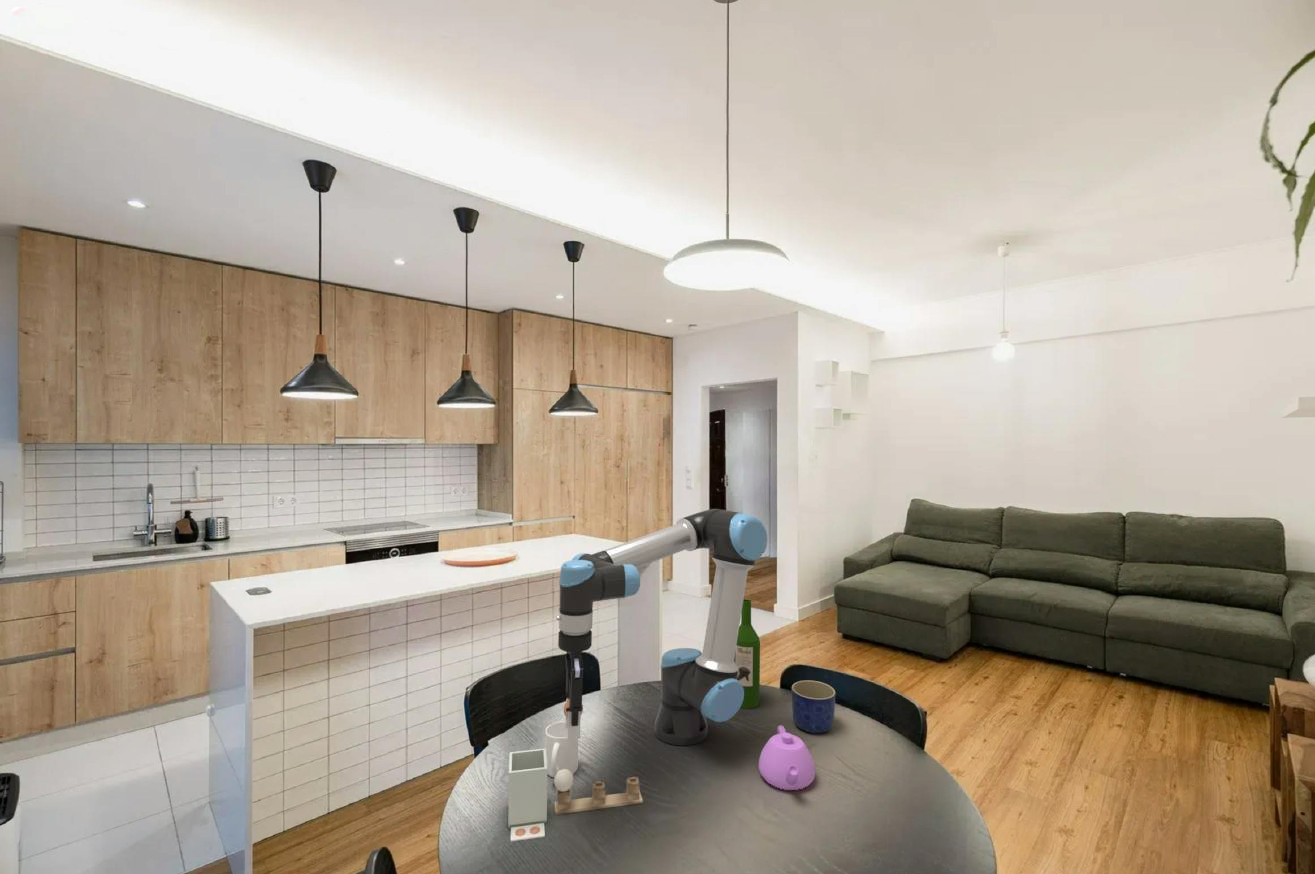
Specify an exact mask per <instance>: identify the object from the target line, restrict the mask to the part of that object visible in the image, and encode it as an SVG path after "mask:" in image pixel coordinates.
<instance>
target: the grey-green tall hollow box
mask: <svg viewBox="0 0 1315 874" xmlns="http://www.w3.org/2000/svg"><path fill="white" fill-rule="evenodd" d="M508 755H509V757H508V758H509V759H508V796H507V797H508V798H507V799H508V803H507V804H508V806H507V807H508V811H507V812H508V813H507V814H508V815H507V818H508V822H507V824H508V826H507V828H508V829H511V828H512V827H519V826H526V825H533V824H541V823H544V824H546V823H548V822H547V821H548V774H547V757H546V748H536V749H530V750H529V749H528V750H527V749H526V750H519V751H512V752H509V754H508Z"/></svg>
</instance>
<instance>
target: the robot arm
mask: <svg viewBox="0 0 1315 874" xmlns="http://www.w3.org/2000/svg"><path fill="white" fill-rule="evenodd" d="M767 546H768V533H767V529H766V527H765V525H763V522H762V521H761V520H760V519H759V518H758V517H756V516H754V515H752V514H748V513H745V512H738V511H731V510H726V509H721V508H712V509H707V510H703V511H700V512H699V511H698V512H696V513H693V514H690V515H688V516H685V517H682V518H679V519H678V520H676V523H675V524H674V525H670V526H668V527H664V528H662V529H660V530H656V531H654V532H651V533H648V534H645V535H643V536H640V537H637V538H634V539H631V540H629V541H627V542H623V543H621V544H618V545H615V546H612V547H609V548H607V549H605V550H601V551H598V552H596V553H591V554H590V553H585V552H584V553H582V552H581V553H577V554H576V555H575V556H574V557H572V559H571V560H568V561H565V562H563V563H562V564H561V567H560V574H559V582H558V584H559V613H558V614H559V615H557V616H556V621H558V629H559V632H558V643H557V646H558V649H559V650H561V651H563V652H566V653H565V655H564V660H565V673H566V675H565V677H566V678H565V688H564V689H565V692H566V694H565V696H566V700H565V701H566V702H567V701H568V700H569V708H566V712H568V718H567V717H566V716H565V721H566V728H568V740H569V739H578V740H579V739H581V719H582V718H581V716H582V714H581V711H582V705H583V683H584V681H583V678H584V671H585V669H584V665H585V657H584V653H583V652H584V651H588V650H590V648H591V647H592V644H593V643H592V642H593V641H592V640H593V639H592V638H593V632H592V629H593V617H594V616H593V614H594V611H593V608H594V607H593V606H594V602H602V601H609V600H615V599H622V598H623V599H625V598H628V597H632V596H634V595H636V594H637V593H638V592H639V590H640V587H641V575H640V572H639V570H638V569H640V568H641V567H644V566H647V565H649V564H652V563H655V562H657V561H659V560H663V559H665V558H667V557H670V556H672V555H674V554H678V553H681V552H683V551H685V550H686V551H687V552H693V551H696V550H699V549H709V550H712V557H711V559H712V561H713V562H714V564H715V566H716V567H715V573H714V579H713V584H712V592H711V597H710V602H709V610H708V611H709V612H708V617H707V623H706V629H705V635H704V642H703V646H702V647H703V648H702V651H701V650H699V649H697V648H694V647H693V648H692V647H680V648H672V649H670V650H668V651H666V652H664V653H663V654H662V656H661V663H660V676H661V677H660V706H659V709H658V712H657V714H656V718H655V720H654V734H655V736H656V737H657V738H658V739H659V740H661V741H662V742H664V743H666V744H670V745H674V746H690V745H691V746H692V745H695V744H698V743H701V742H702V741H704V740H705V739H706V738H707V736H708V722H707V719H709V720H712V721H713V722H715V723H716V722H717V723H723V722H726V721H728V720H730V719H732V718H733V717H734V716H735V714H737V713H738V712H739V710H740V709H741V708H740V707H741V705H742V702H743V699H744V689H743V687H742V684H741V683H740V682H739V681H738V680H737V676H738V666H737V665H736V663H735V662H734V657H735V651H736V644H737V638H738V631H739V626H740V625H741V612H742V606H743V599H744V597H745V592H746V586H747V585H746V584H747V578H748V574H749V573H748V572H749V571H750V570H751V569H752V568H755V563H756V560H758V559H760V558H761V557H762V556H763V554H764V553H765V552H766V550H767ZM566 702H565V703H566Z"/></svg>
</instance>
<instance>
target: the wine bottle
mask: <svg viewBox="0 0 1315 874" xmlns="http://www.w3.org/2000/svg"><path fill="white" fill-rule="evenodd" d="M734 662H735V663H736V665H737V666H738V676H737V680H738V681H739V682H740V683H741V684H742V687H743V689H744V699H743V702H742V705H741V707H740V709H747V710H749V709H755V708H757V707H758V706H759V705H760V696H761V695H760V694H761V693H760V690H761V689H760V688H761V687H760V686H761V685H760V684H761V683H760V681H761V680H760V679H761V677H760V675H761V674H760V673H761V641H760V637H759V636H758V634H757V632H756V630H755V628H754V627H753V625H752V600H751V599H749V598H745V599H743V606H742V612H741V619H740V625H739V631H738V638H737V644H736V651H735V657H734Z"/></svg>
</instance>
